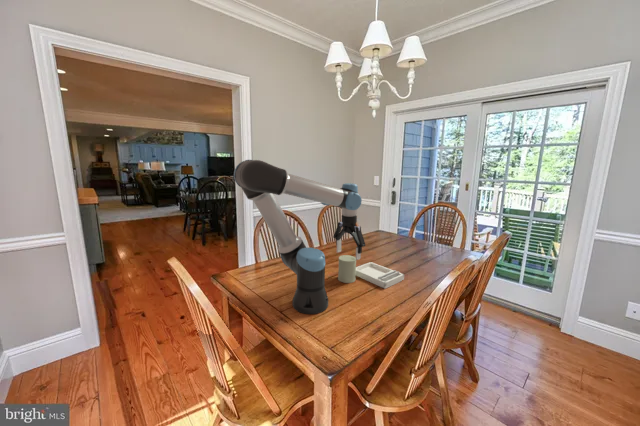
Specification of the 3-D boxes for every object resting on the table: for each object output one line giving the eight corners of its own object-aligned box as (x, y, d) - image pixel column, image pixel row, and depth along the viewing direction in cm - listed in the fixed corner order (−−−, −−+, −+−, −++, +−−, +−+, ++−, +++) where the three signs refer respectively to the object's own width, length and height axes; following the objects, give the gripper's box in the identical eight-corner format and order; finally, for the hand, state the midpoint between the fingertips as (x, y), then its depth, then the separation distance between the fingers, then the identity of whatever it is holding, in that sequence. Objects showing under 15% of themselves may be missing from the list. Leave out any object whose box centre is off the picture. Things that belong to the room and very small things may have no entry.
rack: (385, 288, 126) (385, 281, 125) (351, 273, 143) (352, 266, 142) (403, 279, 136) (404, 272, 136) (370, 266, 153) (371, 260, 152)
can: (354, 283, 131) (356, 261, 129) (336, 282, 133) (337, 259, 130) (356, 276, 140) (357, 254, 137) (339, 274, 141) (339, 253, 139)
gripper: (374, 218, 123) (372, 260, 127) (337, 210, 141) (336, 247, 146) (363, 220, 118) (361, 264, 122) (327, 211, 137) (326, 250, 141)
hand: (348, 255), depth 134 cm, fingers open, 13 cm apart
